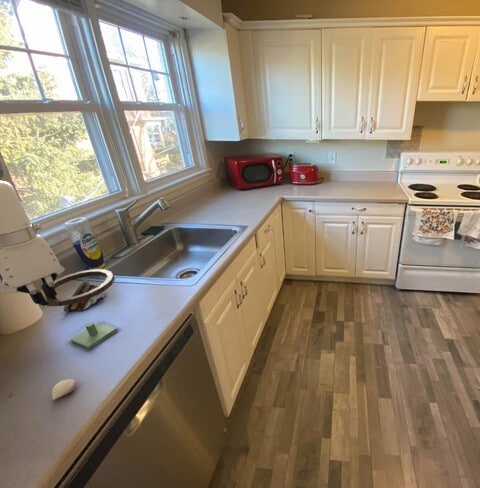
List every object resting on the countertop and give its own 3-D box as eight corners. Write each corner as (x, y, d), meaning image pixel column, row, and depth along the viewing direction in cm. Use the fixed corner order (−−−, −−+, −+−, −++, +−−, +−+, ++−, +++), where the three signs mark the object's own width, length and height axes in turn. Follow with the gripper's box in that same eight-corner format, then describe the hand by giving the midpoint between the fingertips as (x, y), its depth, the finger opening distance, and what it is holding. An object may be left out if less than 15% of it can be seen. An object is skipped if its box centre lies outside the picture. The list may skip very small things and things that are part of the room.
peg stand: (71, 341, 81) (65, 330, 79) (100, 324, 88) (94, 312, 86) (89, 349, 79) (83, 337, 77) (117, 330, 85) (112, 319, 84)
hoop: (27, 297, 74) (24, 293, 73) (91, 269, 87) (90, 265, 87) (63, 312, 69) (61, 308, 68) (126, 279, 82) (125, 275, 81)
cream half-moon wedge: (81, 383, 69) (77, 376, 68) (65, 402, 64) (60, 395, 63) (63, 384, 69) (59, 377, 68) (46, 403, 64) (41, 396, 63)
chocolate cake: (84, 316, 92) (100, 280, 96) (61, 311, 91) (78, 276, 95) (100, 317, 101) (114, 285, 105) (79, 313, 100) (94, 280, 104)
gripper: (44, 222, 72) (72, 282, 80) (-46, 247, 58) (-2, 317, 66) (62, 226, 69) (89, 288, 77) (-29, 254, 56) (16, 325, 64)
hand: (47, 301), depth 72 cm, fingers closed on hoop, 1 cm apart
